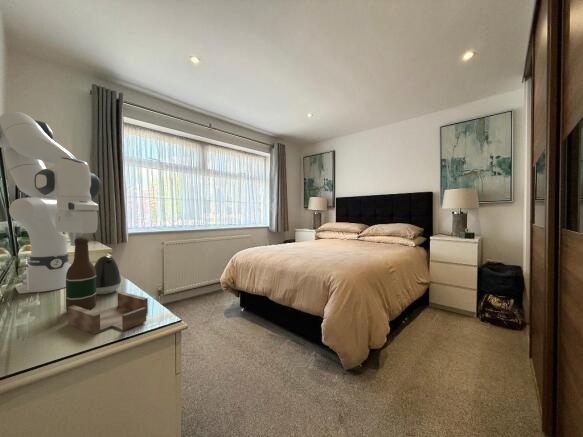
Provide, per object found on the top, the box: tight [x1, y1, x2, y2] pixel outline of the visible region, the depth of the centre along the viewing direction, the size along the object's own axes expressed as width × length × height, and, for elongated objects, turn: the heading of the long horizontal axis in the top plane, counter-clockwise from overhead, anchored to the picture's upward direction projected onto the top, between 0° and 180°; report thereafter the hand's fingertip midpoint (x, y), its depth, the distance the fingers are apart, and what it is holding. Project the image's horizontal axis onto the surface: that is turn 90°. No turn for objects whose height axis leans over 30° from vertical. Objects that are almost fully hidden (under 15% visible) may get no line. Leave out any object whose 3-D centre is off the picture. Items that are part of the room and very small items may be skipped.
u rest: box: [67, 291, 149, 336], centre depth 73 cm, size 20×15×5 cm
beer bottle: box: [65, 237, 97, 312], centre depth 81 cm, size 8×8×24 cm
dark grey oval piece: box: [94, 255, 122, 296], centre depth 98 cm, size 10×10×15 cm
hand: (75, 245), depth 82 cm, fingers closed
